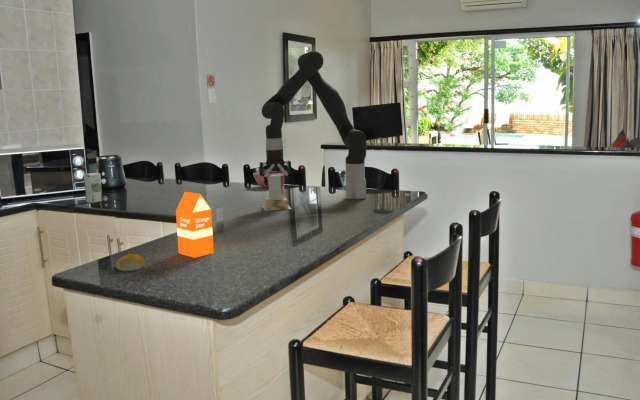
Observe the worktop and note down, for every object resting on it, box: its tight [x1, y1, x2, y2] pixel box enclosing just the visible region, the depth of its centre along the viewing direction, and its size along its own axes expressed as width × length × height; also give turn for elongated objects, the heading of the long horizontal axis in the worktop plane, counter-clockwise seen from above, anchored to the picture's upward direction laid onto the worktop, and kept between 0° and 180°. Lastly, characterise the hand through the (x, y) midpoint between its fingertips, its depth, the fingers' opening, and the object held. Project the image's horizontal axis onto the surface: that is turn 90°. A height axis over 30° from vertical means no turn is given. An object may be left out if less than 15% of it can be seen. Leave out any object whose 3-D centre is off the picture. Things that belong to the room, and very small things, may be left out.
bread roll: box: [115, 253, 145, 272], centre depth 177 cm, size 8×9×4 cm
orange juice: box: [175, 191, 214, 259], centre depth 190 cm, size 8×9×20 cm
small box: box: [268, 175, 285, 200], centre depth 262 cm, size 8×6×10 cm
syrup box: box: [83, 172, 103, 204], centre depth 291 cm, size 6×6×14 cm
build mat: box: [261, 204, 292, 212], centre depth 263 cm, size 12×10×1 cm
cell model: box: [252, 168, 288, 188], centre depth 327 cm, size 17×20×11 cm
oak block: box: [264, 196, 289, 211], centre depth 263 cm, size 9×9×4 cm
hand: (276, 184), depth 261 cm, fingers open, 8 cm apart
